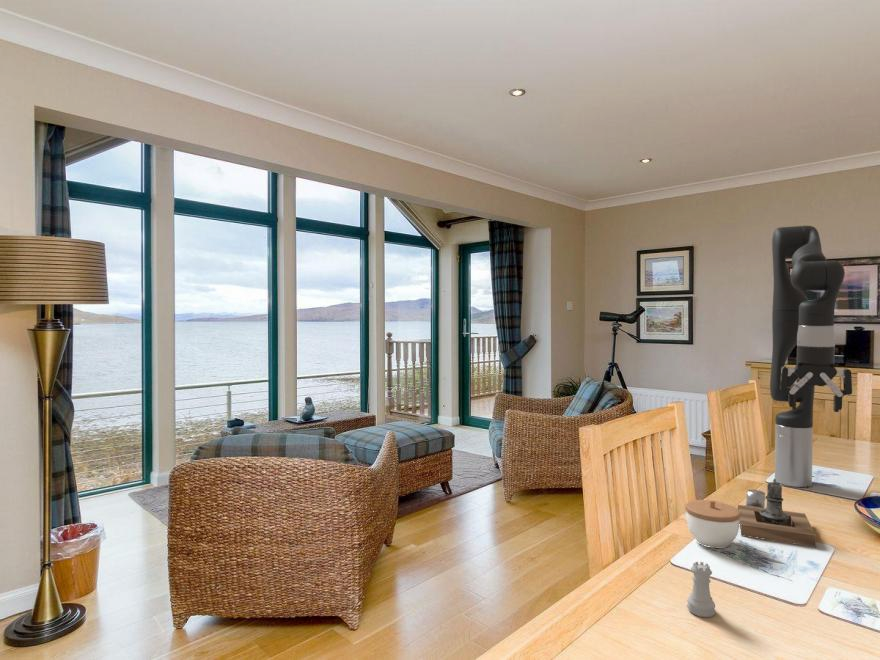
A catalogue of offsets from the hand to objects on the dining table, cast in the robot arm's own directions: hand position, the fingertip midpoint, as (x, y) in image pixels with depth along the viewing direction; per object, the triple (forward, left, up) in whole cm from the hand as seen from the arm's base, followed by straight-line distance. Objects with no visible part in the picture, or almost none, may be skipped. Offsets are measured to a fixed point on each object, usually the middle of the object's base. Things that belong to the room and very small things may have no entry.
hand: (814, 410), depth 130 cm
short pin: (+1, -12, -27) cm, 29 cm away
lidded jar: (+26, -22, -27) cm, 43 cm away
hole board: (+12, -9, -27) cm, 31 cm away
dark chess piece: (+12, -9, -27) cm, 31 cm away
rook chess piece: (+57, -24, -27) cm, 67 cm away
